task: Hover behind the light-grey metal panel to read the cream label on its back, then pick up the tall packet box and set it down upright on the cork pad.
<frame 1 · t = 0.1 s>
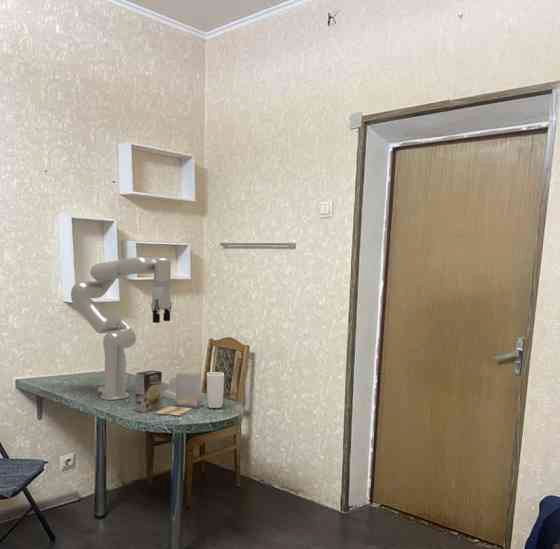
hand: (161, 321, 224), 37 cm above the table, tool pointing down, fingers open, 9 cm apart
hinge: (178, 397, 232), on the table
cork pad: (172, 412, 206), on the table
coffee box: (148, 409, 209), on the table
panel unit: (188, 406, 215), on the table
cup: (214, 407, 214), on the table
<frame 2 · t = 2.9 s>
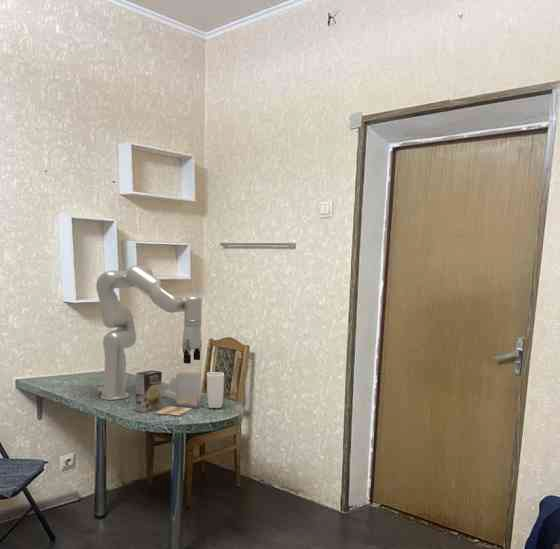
hand: (192, 361, 219), 19 cm above the table, tool pointing down, fingers open, 9 cm apart
nothing on the table moved.
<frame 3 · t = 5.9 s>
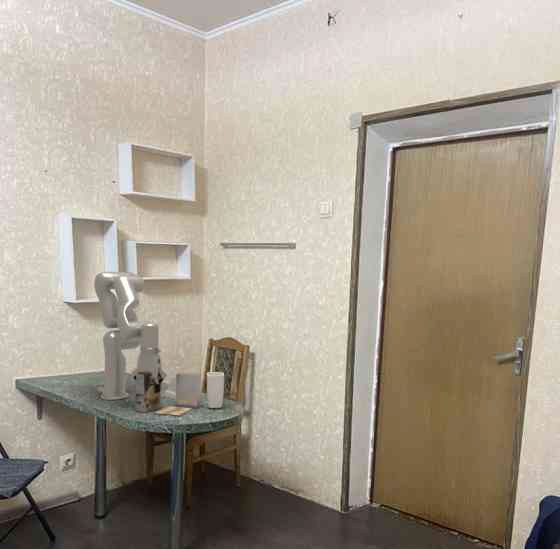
hand: (148, 391, 209), 8 cm above the table, tool pointing down, fingers closed on coffee box, 7 cm apart
coffee box: (148, 409, 209), on the table, touching gripper
everything else where it was.
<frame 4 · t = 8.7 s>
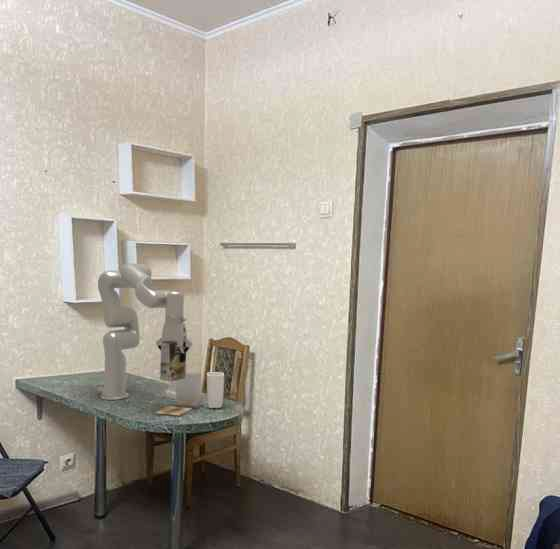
hand: (173, 361, 206), 21 cm above the table, tool pointing down, fingers closed on coffee box, 7 cm apart
coffee box: (173, 379, 206), point 14 cm above the table, touching gripper
everything else where it was.
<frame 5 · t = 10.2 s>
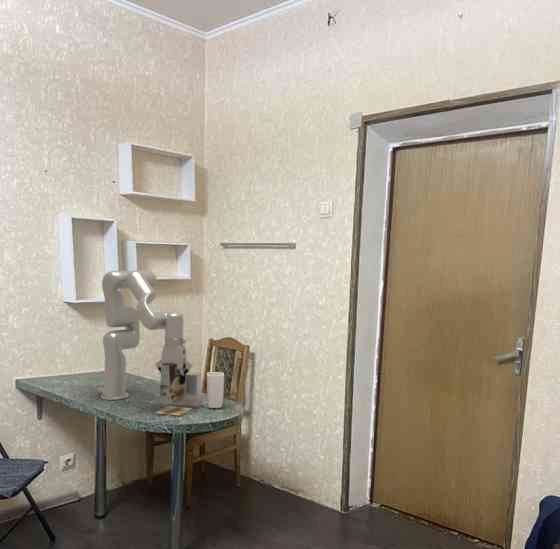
hand: (173, 383, 206), 12 cm above the table, tool pointing down, fingers closed on coffee box, 7 cm apart
coffee box: (173, 401, 206), point 4 cm above the table, touching gripper
everything else where it was.
when the fingers open (9 cm above the table, at t = 11.5 s): coffee box stays where it is, resting on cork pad.
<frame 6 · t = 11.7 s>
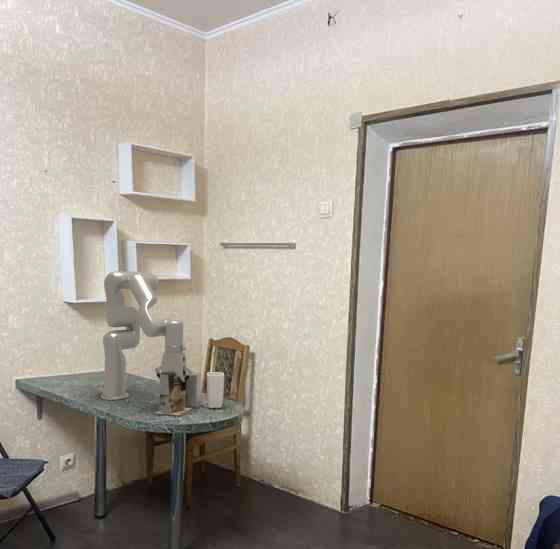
hand: (173, 389, 206), 9 cm above the table, tool pointing down, fingers open, 9 cm apart
coffee box: (172, 410, 206), point 1 cm above the table, touching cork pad
everything else where it was.
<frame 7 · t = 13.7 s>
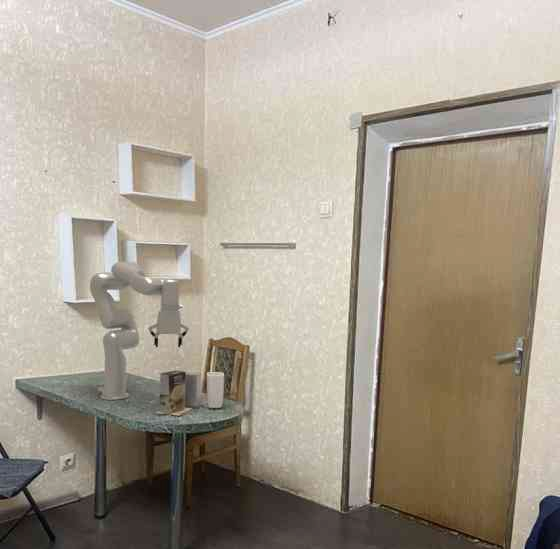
hand: (168, 346, 211), 27 cm above the table, tool pointing down, fingers open, 9 cm apart
nothing on the table moved.
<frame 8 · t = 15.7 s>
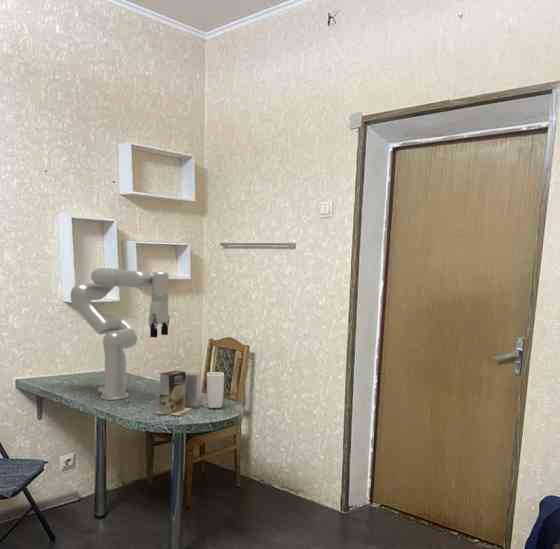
hand: (159, 336, 222), 30 cm above the table, tool pointing down, fingers open, 9 cm apart
at the end: coffee box inside the target area on the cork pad (0.3 cm from its centre), point 0.5 cm above the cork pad's base; coffee box touching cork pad; coffee box tilted 0° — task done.
